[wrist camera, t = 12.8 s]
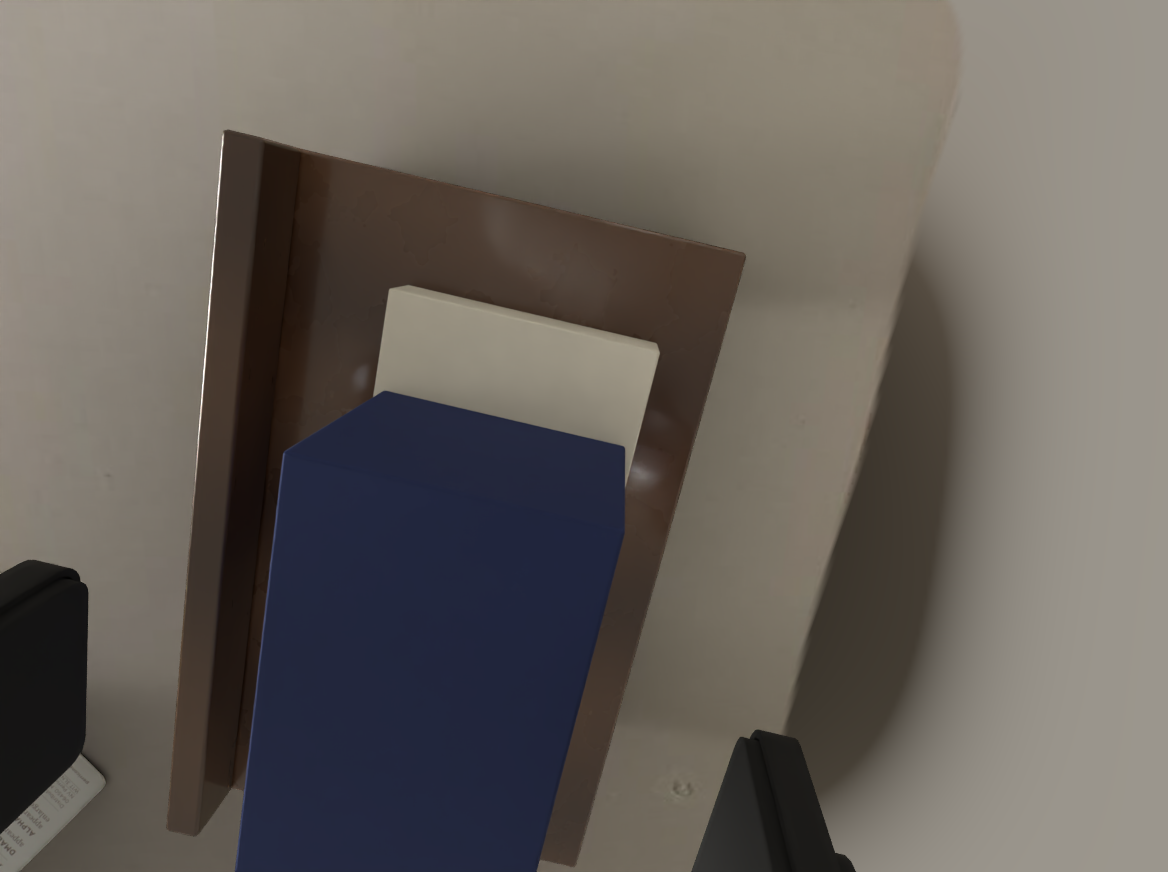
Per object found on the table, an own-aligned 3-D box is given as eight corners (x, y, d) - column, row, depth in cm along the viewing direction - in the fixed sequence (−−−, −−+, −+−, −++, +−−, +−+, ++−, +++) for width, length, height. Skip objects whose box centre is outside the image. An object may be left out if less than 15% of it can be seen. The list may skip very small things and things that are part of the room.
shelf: (368, 169, 20) (220, 127, 13) (713, 250, 20) (762, 255, 13) (302, 654, 24) (164, 831, 17) (587, 720, 24) (570, 925, 17)
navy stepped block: (406, 284, 15) (282, 307, 10) (657, 343, 15) (675, 399, 10) (324, 815, 19) (202, 1048, 13) (525, 862, 19) (484, 1114, 13)
